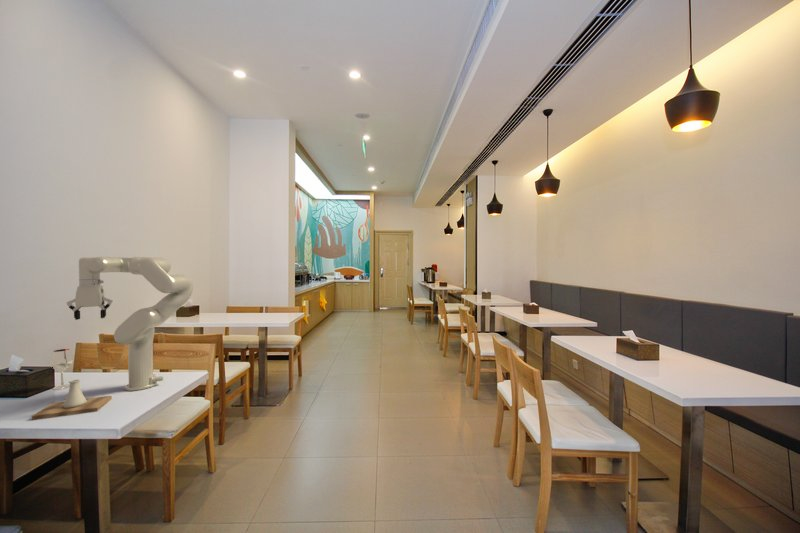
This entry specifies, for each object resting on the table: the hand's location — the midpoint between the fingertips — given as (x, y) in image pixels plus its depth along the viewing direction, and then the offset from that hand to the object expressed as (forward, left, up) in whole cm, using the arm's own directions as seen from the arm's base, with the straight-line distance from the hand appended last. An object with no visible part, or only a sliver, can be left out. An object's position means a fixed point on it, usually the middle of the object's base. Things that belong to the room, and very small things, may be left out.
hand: (90, 318), depth 167 cm
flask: (-5, +29, -32) cm, 43 cm away
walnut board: (-5, +29, -33) cm, 44 cm away
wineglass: (+14, -7, -34) cm, 37 cm away
